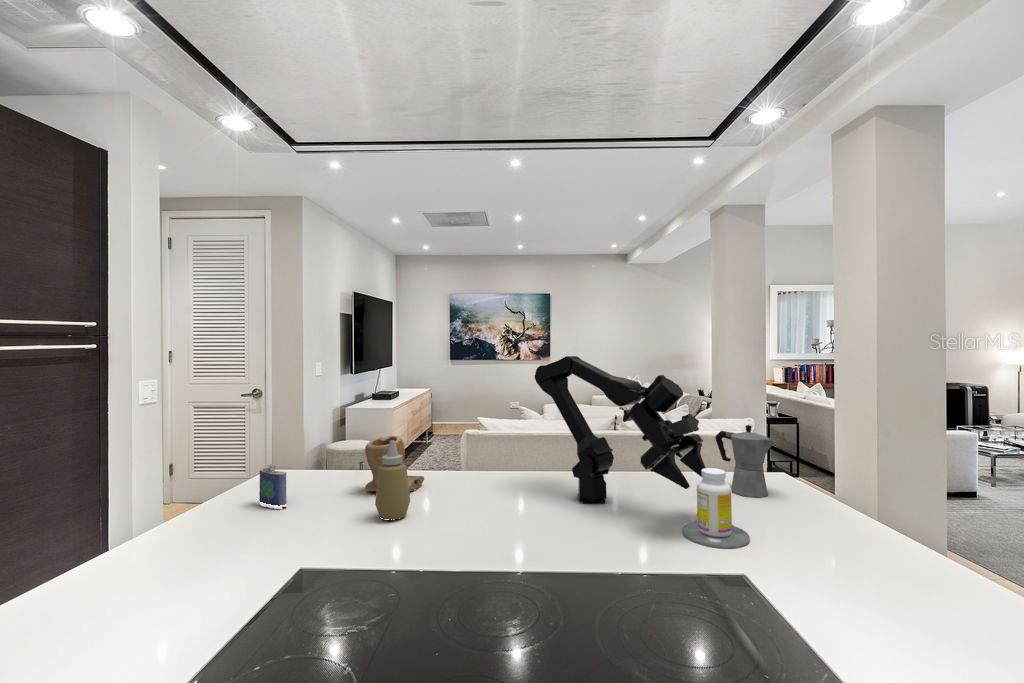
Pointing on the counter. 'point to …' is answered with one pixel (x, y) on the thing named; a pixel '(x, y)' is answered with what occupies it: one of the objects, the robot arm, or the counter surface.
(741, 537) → the slate trivet
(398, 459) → the squeeze bottle
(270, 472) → the flask
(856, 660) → the counter surface
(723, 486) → the supplement bottle
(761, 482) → the coffeepot
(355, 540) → the counter surface
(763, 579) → the counter surface
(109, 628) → the counter surface
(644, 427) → the robot arm
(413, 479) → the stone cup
